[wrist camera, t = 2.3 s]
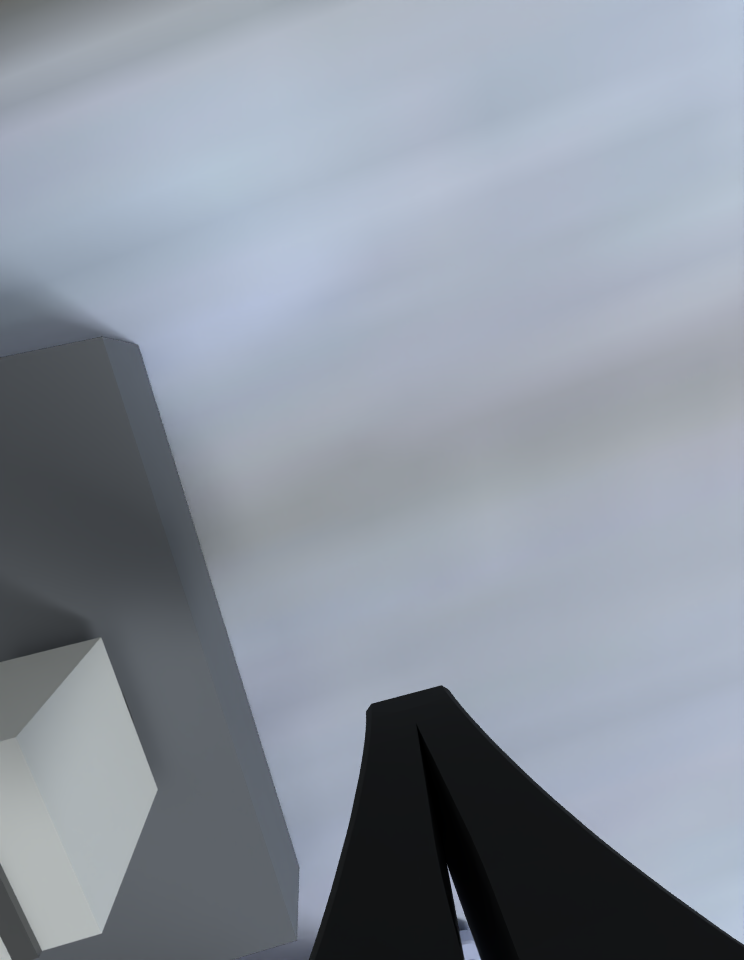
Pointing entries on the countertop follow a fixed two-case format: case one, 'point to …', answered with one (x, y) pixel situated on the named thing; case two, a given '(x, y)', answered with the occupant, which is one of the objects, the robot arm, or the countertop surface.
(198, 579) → the panel
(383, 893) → the robot arm
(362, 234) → the countertop surface
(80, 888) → the fader
